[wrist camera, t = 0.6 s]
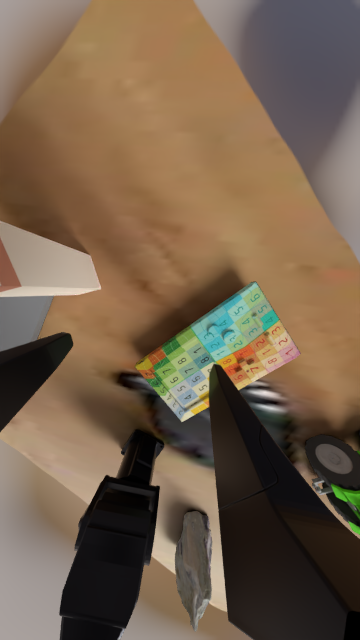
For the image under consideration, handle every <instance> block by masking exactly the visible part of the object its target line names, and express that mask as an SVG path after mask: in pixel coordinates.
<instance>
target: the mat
mask: <svg viewBox="0 0 360 640" xmlns="http://www.w3.org/2000/svg"><path fill="white" fill-rule="evenodd" d="M53 297H54V295H53V296H18V297H0V351H4V350H7V349H10V348H13V347H16V346H20V345H23V344H26V343H29V342H32V341H35V340H37V338H38V336H39V333H40V330H41V328H42V325H43V323H44V320H45V318H46V315H47V312H48V310H49V307H50V305H51V302H52V300H53Z"/></svg>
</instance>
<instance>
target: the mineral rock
mask: <svg viewBox="0 0 360 640" xmlns="http://www.w3.org/2000/svg"><path fill="white" fill-rule="evenodd" d="M209 524H210V523H209V518H208V516H207V515H202V514H201V513H200V512H198V511H193V512H187V513H186V514H185V515H184V521H183V531H182V535H181V538H180V540H179V541H178V543H177V547H176V553H175V571H176V583H177V588H178V593H179V595H180V597H181V599H182V604H183V605H184V607H185V609H186V610H187V612H188V613H189V616H190V619H191V621H190V622H191V625H192V627H193V629H194V631H197V627H198V620H199V619H200V618H201V617H202V615H203V613H204V611H205V609H206V606H207V605H208V603H209V601H210V600H211V591H212V587H211V578H210V569H211V567H210V564H211V554H212V548H211V547H212V538H211V530H210V529H209V527H210V526H209Z"/></svg>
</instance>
